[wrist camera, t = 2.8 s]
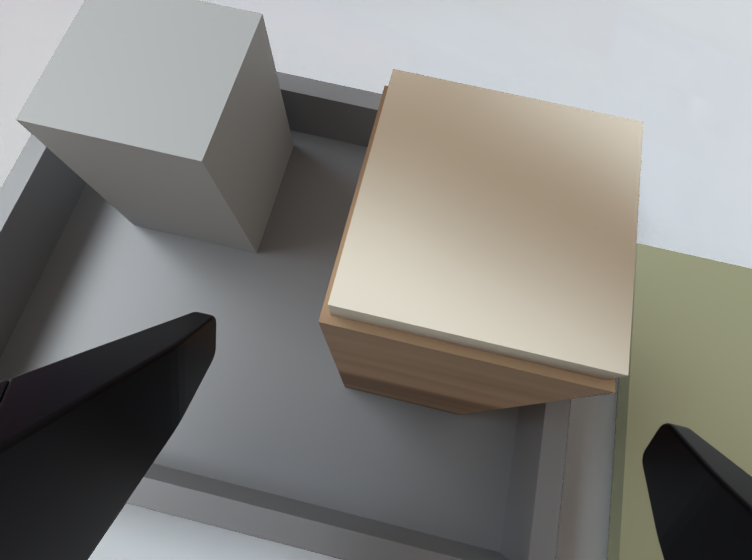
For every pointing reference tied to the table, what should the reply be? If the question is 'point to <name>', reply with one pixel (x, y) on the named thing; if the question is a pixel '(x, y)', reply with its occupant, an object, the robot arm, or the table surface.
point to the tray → (276, 366)
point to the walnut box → (486, 251)
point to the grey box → (169, 115)
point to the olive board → (679, 378)
